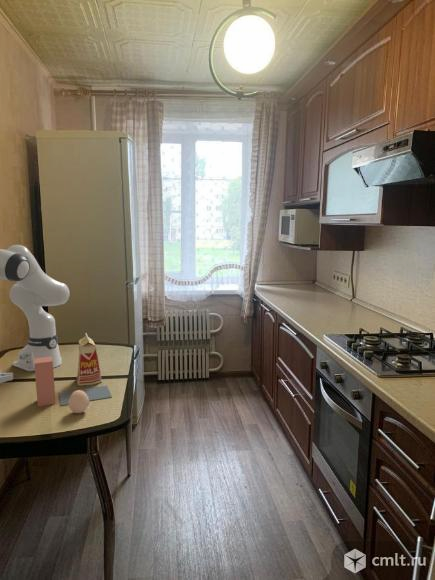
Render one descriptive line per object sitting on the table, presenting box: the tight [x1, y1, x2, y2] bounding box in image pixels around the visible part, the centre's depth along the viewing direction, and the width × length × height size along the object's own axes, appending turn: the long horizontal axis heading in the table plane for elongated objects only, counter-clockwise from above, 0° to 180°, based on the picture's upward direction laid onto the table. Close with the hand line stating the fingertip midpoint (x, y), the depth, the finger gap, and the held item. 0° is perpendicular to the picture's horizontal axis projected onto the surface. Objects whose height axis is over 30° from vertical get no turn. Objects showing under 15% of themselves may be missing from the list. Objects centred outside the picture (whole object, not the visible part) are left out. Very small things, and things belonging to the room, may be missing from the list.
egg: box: [68, 389, 90, 414], centre depth 141 cm, size 7×7×8 cm
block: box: [34, 357, 57, 407], centre depth 149 cm, size 6×6×16 cm
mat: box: [58, 385, 113, 407], centre depth 155 cm, size 18×12×1 cm, turn 113°
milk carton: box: [76, 332, 103, 387], centre depth 168 cm, size 9×9×20 cm
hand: (13, 376), depth 144 cm, fingers closed
